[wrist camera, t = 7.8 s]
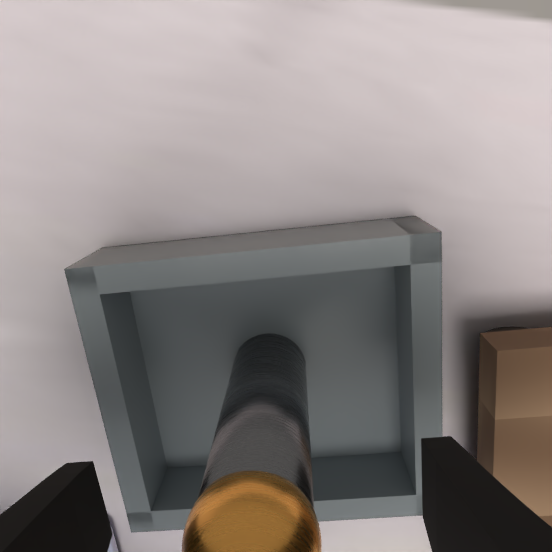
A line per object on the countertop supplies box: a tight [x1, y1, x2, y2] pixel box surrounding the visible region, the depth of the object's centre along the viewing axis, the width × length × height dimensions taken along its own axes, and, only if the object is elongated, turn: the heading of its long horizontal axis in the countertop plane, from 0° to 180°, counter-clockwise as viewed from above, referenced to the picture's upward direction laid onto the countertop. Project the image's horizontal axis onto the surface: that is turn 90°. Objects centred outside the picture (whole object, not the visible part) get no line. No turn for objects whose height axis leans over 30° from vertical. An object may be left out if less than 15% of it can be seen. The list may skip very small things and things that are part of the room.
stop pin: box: [182, 333, 321, 552], centre depth 11 cm, size 3×3×8 cm
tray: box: [64, 216, 442, 532], centre depth 14 cm, size 9×10×2 cm
